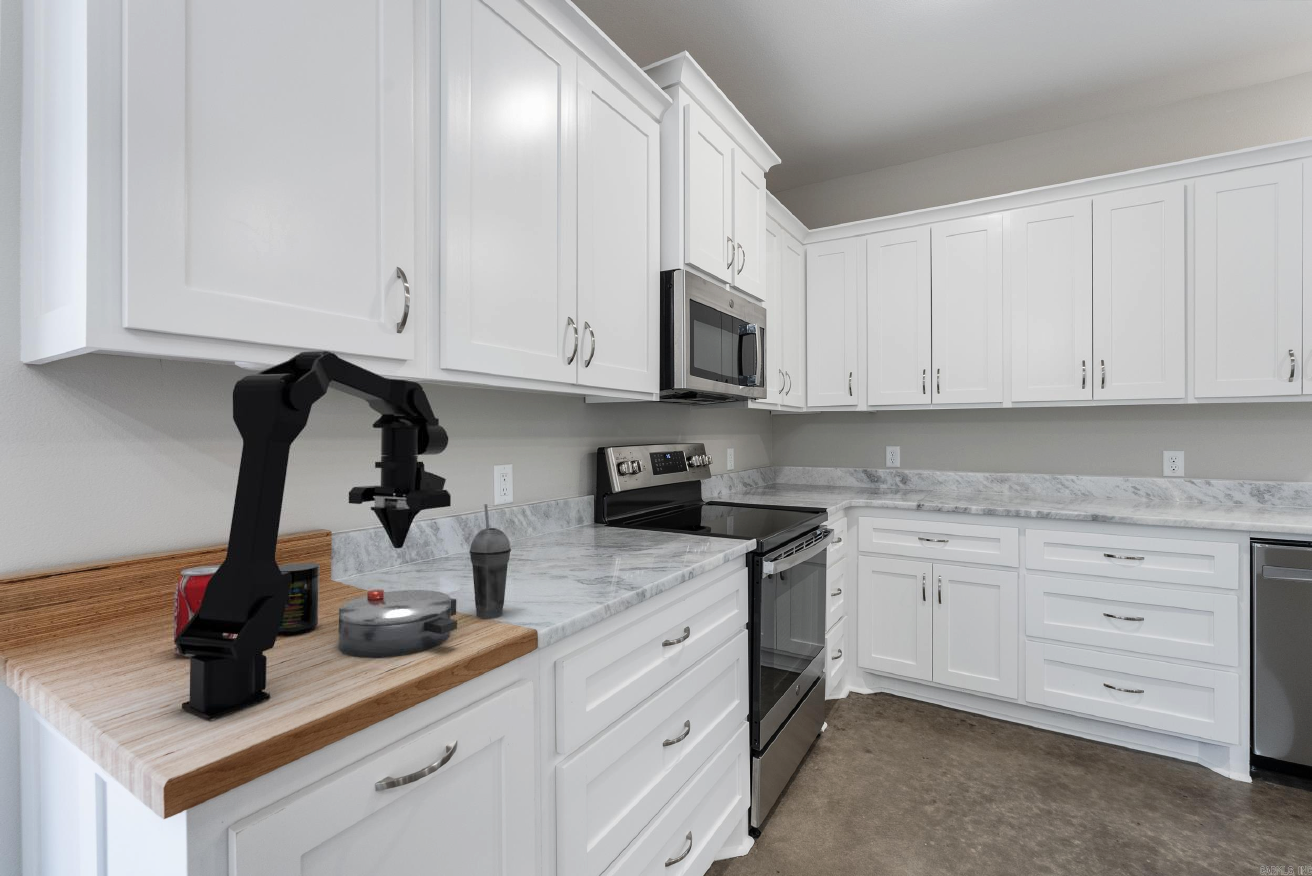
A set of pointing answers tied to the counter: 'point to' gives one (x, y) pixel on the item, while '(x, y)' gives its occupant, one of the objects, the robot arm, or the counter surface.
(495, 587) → the beverage cup
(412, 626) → the pressure cooker pot
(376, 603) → the pressure cooker lid
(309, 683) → the counter surface
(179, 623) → the soda can
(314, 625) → the supplement container
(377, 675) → the counter surface
